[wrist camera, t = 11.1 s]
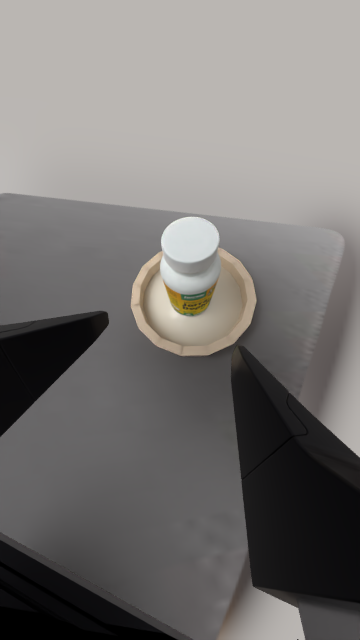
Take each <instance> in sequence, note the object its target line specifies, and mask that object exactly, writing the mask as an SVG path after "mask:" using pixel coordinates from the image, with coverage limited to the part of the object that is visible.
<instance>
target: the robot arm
mask: <svg viewBox="0 0 360 640" xmlns="http://www.w3.org/2000/svg"><path fill="white" fill-rule="evenodd" d="M108 324H109V318H108V313H107V312H105V311H96V312H89V313H83V314H76V315H70V316H63V317H56V318H50V319H43V320H37V321H30V322H23V323H16V324H9V325H1V326H0V437H1V436H2V435H3V434H4V433H5V432H6V431H7V430H8V429H9V428H10V427H11V426H12V425H13V424H14V423H15V422H16V421H17V420H18V419H19V418H20V417H21V416H22V415H23V414H24V413H25V411H26V410H27V409H28V408H29V407H30V406H31V405H32V404H33V403H34V402H35V401H36V400H37V399H38V398H39V397H40V396H41V395H42V394H43V393H44V392H45V391H46V390H47V389H48V388H49V387H50V386H51V385H52V384H53V383H54V382H55V381H56V380H57V379H58V378H59V377H60V376H61V375H62V374H63V373H64V372H65V371H66V370H67V369H68V368H69V367H70V366H71V365H72V364H73V363H74V362H75V361H76V360H77V359H78V358H79V357H80V356H81V355H82V354H83V353H84V352H85V351H86V350H87V349H88V348H89V347H90V346H91V345H92V344H93V343H94V342H95V341H96V339H97V338H98V337H99V336H100V335H101V333H102V332H103V331H104V330H105V328H106V327H107V326H108ZM231 383H232V393H233V403H234V413H235V422H236V432H237V441H238V451H239V461H240V470H241V479H242V491H243V500H244V510H245V520H246V529H247V539H248V549H249V558H250V568H251V577H252V584H253V587H255V588H257V589H259V590H261V591H263V592H265V593H267V594H270V595H272V596H274V597H276V598H278V599H280V600H282V601H284V602H287V603H289V604H291V605H293V606H295V607H297V608H299V613H300V618H301V622H302V626H303V631H304V635H305V640H360V457H358V456H357V455H356V454H355V453H354V452H353V451H352V450H350V448H348V447H347V446H346V445H345V444H344V443H343V442H342V441H341V440H339V439H338V438H337V437H336V436H335V435H334V434H333V433H332V432H331V431H330V430H329V429H327V428H326V427H325V426H324V425H323V424H322V423H321V422H320V421H319V420H318V419H317V418H315V417H314V416H313V415H312V414H311V413H310V412H309V411H308V410H307V409H306V408H305V407H304V406H303V405H302V404H301V403H300V402H299V401H298V400H297V399H296V398H295V397H294V396H293V395H292V394H291V393H289V391H288V390H287V389H286V388H285V387H284V386H283V385H282V384H281V383H280V382H279V381H278V380H277V379H276V378H275V377H274V376H273V375H272V374H271V373H270V372H269V371H268V370H267V369H266V368H265V367H264V366H263V365H262V364H261V363H260V362H259V361H258V360H257V359H256V358H255V357H254V356H253V355H252V354H251V353H250V352H249V351H248V350H247V349H246V348H245V347H243V346H239V345H237V346H236V348H235V350H234V352H233V355H232V366H231ZM0 640H193V639H191V638H189V637H187V636H186V635H184V634H182V633H180V632H178V631H177V630H175V629H173V628H171V627H169V626H168V625H166V624H164V623H162V622H160V621H159V620H157V619H155V618H153V617H151V616H150V615H148V614H146V613H144V612H142V611H141V610H139V609H137V608H135V607H133V606H132V605H130V604H128V603H126V602H124V601H123V600H121V599H119V598H117V597H116V596H114V595H112V594H110V593H108V592H107V591H105V590H103V589H101V588H99V587H98V586H96V585H94V584H92V583H90V582H89V581H87V580H85V579H83V578H81V577H80V576H78V575H76V574H74V573H72V572H71V571H69V570H67V569H65V568H63V567H62V566H60V565H58V564H56V563H54V562H53V561H51V560H49V559H47V558H45V557H44V556H42V555H40V554H38V553H36V552H35V551H33V550H31V549H29V548H27V547H26V546H24V545H22V544H20V543H18V542H17V541H15V540H13V539H11V538H9V537H8V536H6V535H4V534H2V533H0ZM297 640H298V639H297Z"/></svg>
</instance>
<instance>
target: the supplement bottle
mask: <svg viewBox="0 0 360 640" xmlns="http://www.w3.org/2000/svg"><path fill="white" fill-rule="evenodd" d="M219 241H220V237H219V233H218V231H217V229H216V227H215V226H214V225H213V224H212V223H210V222H209V221H207V220H205V219H202V218H199V217H186V218H181V219H178V220H176V221H174V222H173V223H171V224H170V225H169V226H168V227H167V228H166V229H165V231H164V233H163V235H162V238H161V245H162V250H163V256H162V259H161V263H160V272H161V276H162V279H163V282H164V285H165V288H166V291H167V294H168V297H169V300H170V303H171V305H172V307H173V309H174V310H175V311H176V312H177V313H179V314H180V315H183V316H187V317H194V316H198V315H200V314H202V313H203V312H204V311H205V310H206V309H207V308H208V306H209V304H210V301H211V298H212V295H213V293H214V290H215V287H216V284H217V281H218V278H219V275H220V272H221V260H220V256H219V254H218V252H217V251H218V247H219Z"/></svg>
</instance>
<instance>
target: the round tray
mask: <svg viewBox="0 0 360 640" xmlns="http://www.w3.org/2000/svg"><path fill="white" fill-rule="evenodd" d="M217 252H218V254H219V256H220V260H221V272H220V275H219V278H218V281H217V284H216V287H215V290H214V293H213V295H212V298H211V301H210V304H209V306H208V308H207V309H206V310H205V311H204V312H203V313H202V314H200V315H198V316H194V317H187V316H183V315H180V314H179V313H177V312H176V311H175V310H174V309H173V307H172V305H171V303H170V300H169V297H168V294H167V291H166V288H165V285H164V282H163V279H162V276H161V272H160V263H161V259H162V256H163V251H162V252H159V253H158V254H157V255H155V256H154V257H153V258H152V259H151V260H150V261H149V262H147V263H146V264H145V265H144V266H143V267H142V269H141V271H140V273H139V275H138V276H137V278H136V280H135V282H134V284H133V289H132V300H131V308H132V311H133V314H134V316H135V319H136V322H137V325H138V328H139V329H140V330H141V331H142V332H143V333H144V334H145V335H146V336H147V337H148V338H149V339H150V340H151V341H152V342H153V343H154V344H155V345H156V346H157V347H160V348H162V349H164V350H167V351H169V352H172V353H174V354H177V355H179V356H182V357H184V356H208V355H210V354H212V353H214V352H217V351H219V350H221V349H223V348H225V347H227V346H230V345H232V344H234V343H235V342H236V340H237V339H238V338H239V337H240V336H241V335H242V333H243V332H244V331H245V330H246V329H247V328H248V326H249V325H250V324H251V320H252V317H253V313H254V309H255V305H256V301H257V300H256V295H255V290H254V285H253V280H252V278H251V276H250V275H249V273H248V272H247V270H246V269H245V268H244V266H243V265H242V263H241V262H240V261H239V260H238V259H236V258H235V257H233V256H232V255H230V254H229V253H227V252H226V251H224V250H223V249H221V248H218V251H217Z"/></svg>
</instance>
